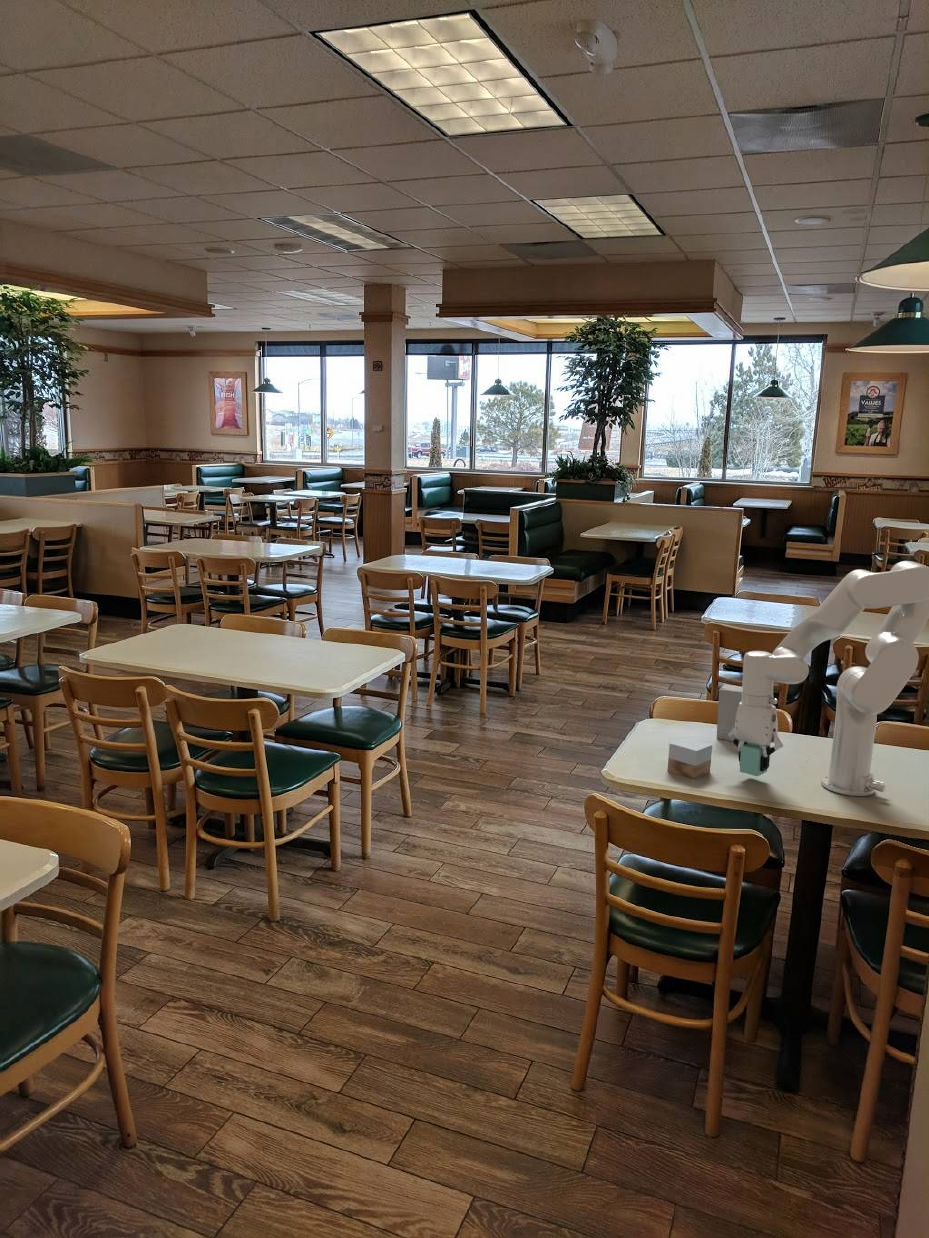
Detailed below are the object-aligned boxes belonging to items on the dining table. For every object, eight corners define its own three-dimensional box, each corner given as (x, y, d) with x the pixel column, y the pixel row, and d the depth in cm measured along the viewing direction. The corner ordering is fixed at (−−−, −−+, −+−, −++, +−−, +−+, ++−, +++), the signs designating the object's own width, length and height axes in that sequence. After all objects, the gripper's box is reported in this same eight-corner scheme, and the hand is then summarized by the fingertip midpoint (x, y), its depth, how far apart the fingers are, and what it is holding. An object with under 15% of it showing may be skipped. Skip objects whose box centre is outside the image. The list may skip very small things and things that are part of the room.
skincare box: (748, 738, 267) (753, 687, 264) (742, 744, 261) (748, 692, 258) (720, 733, 271) (725, 682, 268) (713, 738, 265) (718, 687, 262)
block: (766, 771, 231) (768, 745, 230) (757, 776, 228) (759, 750, 227) (748, 767, 235) (750, 741, 234) (739, 771, 231) (741, 746, 230)
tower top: (711, 759, 235) (712, 744, 234) (695, 765, 229) (696, 751, 229) (684, 751, 241) (685, 737, 240) (668, 757, 235) (669, 743, 234)
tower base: (709, 773, 236) (711, 759, 235) (694, 780, 230) (695, 765, 230) (683, 765, 241) (684, 751, 241) (667, 771, 236) (668, 757, 235)
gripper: (795, 702, 225) (791, 771, 228) (733, 691, 236) (730, 756, 240) (782, 708, 219) (778, 779, 223) (719, 696, 231) (716, 763, 234)
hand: (753, 766), depth 231 cm, fingers closed on block, 5 cm apart
